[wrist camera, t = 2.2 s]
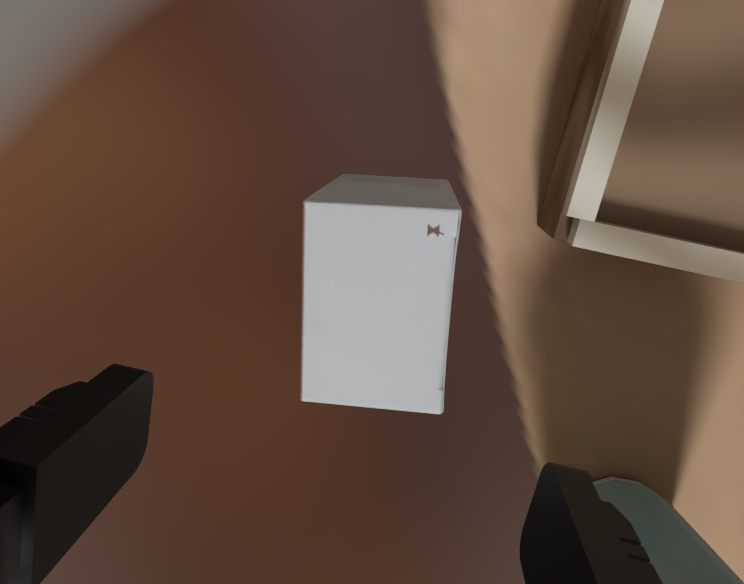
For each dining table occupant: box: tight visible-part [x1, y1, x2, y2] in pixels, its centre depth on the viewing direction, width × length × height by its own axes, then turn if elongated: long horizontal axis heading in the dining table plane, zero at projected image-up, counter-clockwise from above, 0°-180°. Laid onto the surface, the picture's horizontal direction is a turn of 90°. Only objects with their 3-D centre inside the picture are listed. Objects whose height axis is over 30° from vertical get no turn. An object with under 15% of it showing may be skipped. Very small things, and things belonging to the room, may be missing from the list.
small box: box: [300, 173, 462, 414], centre depth 26 cm, size 8×6×10 cm
